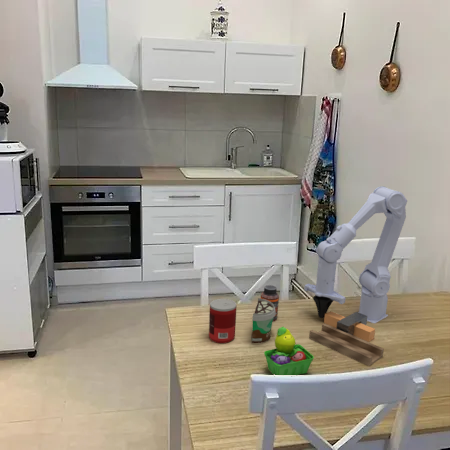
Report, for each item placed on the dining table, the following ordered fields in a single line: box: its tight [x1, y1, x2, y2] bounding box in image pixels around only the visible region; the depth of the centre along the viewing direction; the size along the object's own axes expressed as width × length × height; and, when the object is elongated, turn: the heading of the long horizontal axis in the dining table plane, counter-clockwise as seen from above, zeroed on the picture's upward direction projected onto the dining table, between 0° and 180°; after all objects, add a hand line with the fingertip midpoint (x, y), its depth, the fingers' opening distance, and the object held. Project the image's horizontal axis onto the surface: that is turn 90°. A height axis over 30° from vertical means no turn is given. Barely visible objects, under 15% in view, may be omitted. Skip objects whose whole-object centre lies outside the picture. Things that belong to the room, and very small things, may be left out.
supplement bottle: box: [260, 284, 280, 323], centre depth 151 cm, size 6×6×11 cm
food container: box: [251, 297, 276, 344], centre depth 140 cm, size 12×6×10 cm, turn 168°
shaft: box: [323, 310, 376, 343], centre depth 146 cm, size 16×3×3 cm, turn 44°
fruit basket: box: [263, 326, 315, 376], centre depth 122 cm, size 11×9×11 cm
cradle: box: [308, 322, 384, 367], centre depth 136 cm, size 20×8×3 cm, turn 44°
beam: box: [336, 311, 368, 336], centre depth 145 cm, size 11×4×5 cm, turn 134°
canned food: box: [208, 298, 237, 344], centre depth 138 cm, size 8×8×11 cm
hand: (321, 316), depth 153 cm, fingers closed
